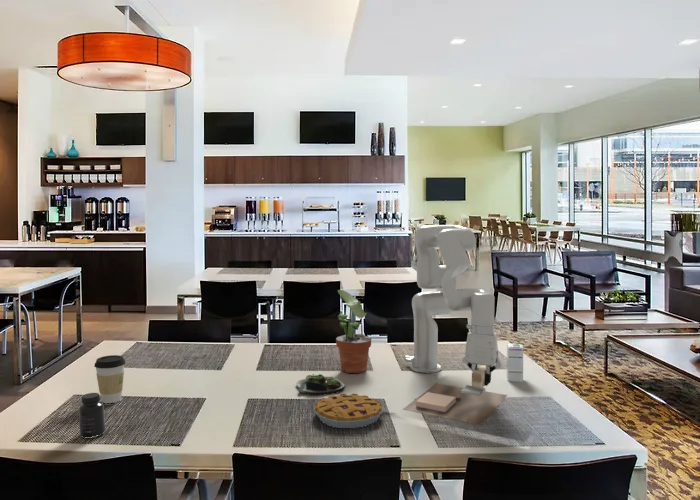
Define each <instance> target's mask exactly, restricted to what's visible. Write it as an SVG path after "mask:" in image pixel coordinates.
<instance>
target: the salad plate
mask: <svg viewBox="0 0 700 500" xmlns="http://www.w3.org/2000/svg"><path fill="white" fill-rule="evenodd" d="M325 381H327V382H325ZM296 386H297V388H298V392H301V393H303V394H304V393H305V395H307V394H309V395H308V396H324V394H326V395H333V394H332V393H334V394H338V393H340V391H341V392H342V391H343V390H344V389H345V386H346V385H345V384H344V383H343V381H341V380H340V379H338V378H337V377H335V376H324V375H323V374H322V373H321V374H320V373H319V374H314V373H312V374H307V375H306V376H305V378H302V379H300V380H298V381H296ZM337 392H338V393H337Z"/></svg>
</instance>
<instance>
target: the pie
mask: <svg viewBox="0 0 700 500" xmlns="http://www.w3.org/2000/svg"><path fill="white" fill-rule="evenodd" d="M383 408H384V407H383V405H382V404H381V402H380V401H378V400H377V399H376V398H373V397H372V398H370V397H369V396H368V395H365V394H364V395H360V394H358V393H352V394H346V393H339V395H329V396H328V397H326V398H325V397H322V398H320V399H319V401H316V402H315V404H314V407H313V411H314V412H315V413H316V416H317V417H318V418H320V419H319V421H320V422H321V421H322V422H324V423H326V424H327V425H326V424H325V425H326V426H328V425H330V426H334V427H338V428H354V427H362V426H365V425H368V426H370V425H369V424H371V425H373V424H374V422H375V421H376V422H377V420H378V421H379V419H380V416H381V415H382V414H383V410H384V409H383ZM322 422H321V423H322ZM376 422H375V423H376ZM324 423H323V424H324ZM372 423H373V424H372ZM330 426H329V427H330ZM334 427H333V428H334ZM365 427H366V426H365ZM362 428H363V427H362ZM354 429H355V428H354Z"/></svg>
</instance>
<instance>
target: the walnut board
mask: <svg viewBox="0 0 700 500" xmlns="http://www.w3.org/2000/svg"><path fill="white" fill-rule="evenodd" d="M463 388H464V386H463V387H462V386H455V385H450V384H445V383H439V382H436V383H434V384H433V385H432V386H430V387H429V388H428V389H427V390H426V391H424V392H423V393H421V394H420V395H418V397H417V398H415V399H414V400H413V401H411V402H410V403H409V404H408V405H406V406H404V407H403V408H402V410H405V411H409V412H414V413H419V414H423V415H429V416H433V417H439V418H443V419H444V418H445V419H449V420H453V421H458V422H459V421H460V422H464V423H468V424H469V423H470V424H475V425H478V426H483V424H484V423H485V422H486V421H487V420H488V418H490V416H492V414H493V413H494V411H495V410H496V409H497V408H498V407H499V406H500V404H501V403H502V402H503V401H504V399H506V397H507V396H508V394H502V393H497V392H493V391H492V392H491V391H487V390H485V391H484V392H483V393H482V394H481V395H480V396H477V395H471V394H465V393H461V390H462V389H463ZM427 392H430V393H435V394H441V395H447V396H452V397H456V403H455V404H454V405H453V406H452V407H451V408H450V409H449V410H448V411H447V412H446V413H443V412H438V411H433V410H428V409H423V408H418V407H416V401H417V400H418V399H419V398H421V397H422V396H423V395H425V394H426V393H427Z"/></svg>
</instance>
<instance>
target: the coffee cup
mask: <svg viewBox="0 0 700 500" xmlns="http://www.w3.org/2000/svg"><path fill="white" fill-rule="evenodd" d="M125 364H126V360H125V359H124V356H122V355H119V354H115V355H114V354H113V355H106V356H105V355H103V356H101V357H98V358H97V359H96V360H95V363H94V368H95V371H96V375H95V376H96V380H97V385H98V386H97V387H98V393H99V396H100V402H101V403H102V402H104V403H112V402H117V401H119V400H121V401H122V396H123V394H122V393H123V386H124V374H125V370H124V369H125Z"/></svg>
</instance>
